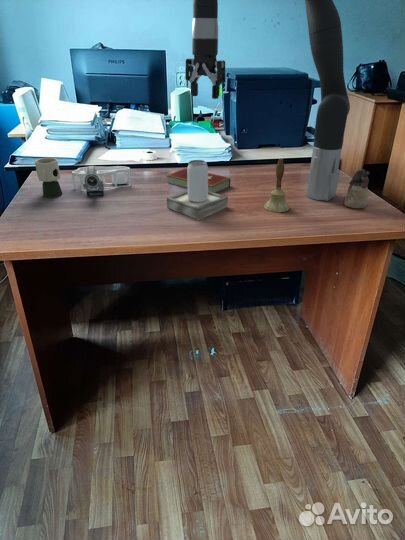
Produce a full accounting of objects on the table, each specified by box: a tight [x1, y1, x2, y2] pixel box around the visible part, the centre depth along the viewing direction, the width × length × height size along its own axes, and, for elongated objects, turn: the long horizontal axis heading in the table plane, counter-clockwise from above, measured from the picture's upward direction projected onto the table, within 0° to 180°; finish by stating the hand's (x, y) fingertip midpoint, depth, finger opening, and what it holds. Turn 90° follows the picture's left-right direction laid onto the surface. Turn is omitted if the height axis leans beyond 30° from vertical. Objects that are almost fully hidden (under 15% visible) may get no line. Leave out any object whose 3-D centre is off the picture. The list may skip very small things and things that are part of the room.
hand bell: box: [263, 158, 290, 213], centre depth 127 cm, size 8×8×16 cm
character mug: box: [34, 157, 63, 199], centre depth 135 cm, size 11×7×13 cm, turn 4°
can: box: [186, 159, 209, 203], centre depth 126 cm, size 6×6×12 cm
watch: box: [84, 165, 105, 197], centre depth 135 cm, size 6×8×11 cm
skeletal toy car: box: [71, 165, 132, 192], centre depth 145 cm, size 20×11×7 cm, turn 94°
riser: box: [166, 189, 229, 220], centre depth 130 cm, size 14×14×4 cm
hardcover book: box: [165, 167, 231, 194], centre depth 149 cm, size 12×21×4 cm, turn 54°
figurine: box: [343, 168, 370, 209], centre depth 131 cm, size 7×7×12 cm
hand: (204, 97), depth 124 cm, fingers open, 8 cm apart
